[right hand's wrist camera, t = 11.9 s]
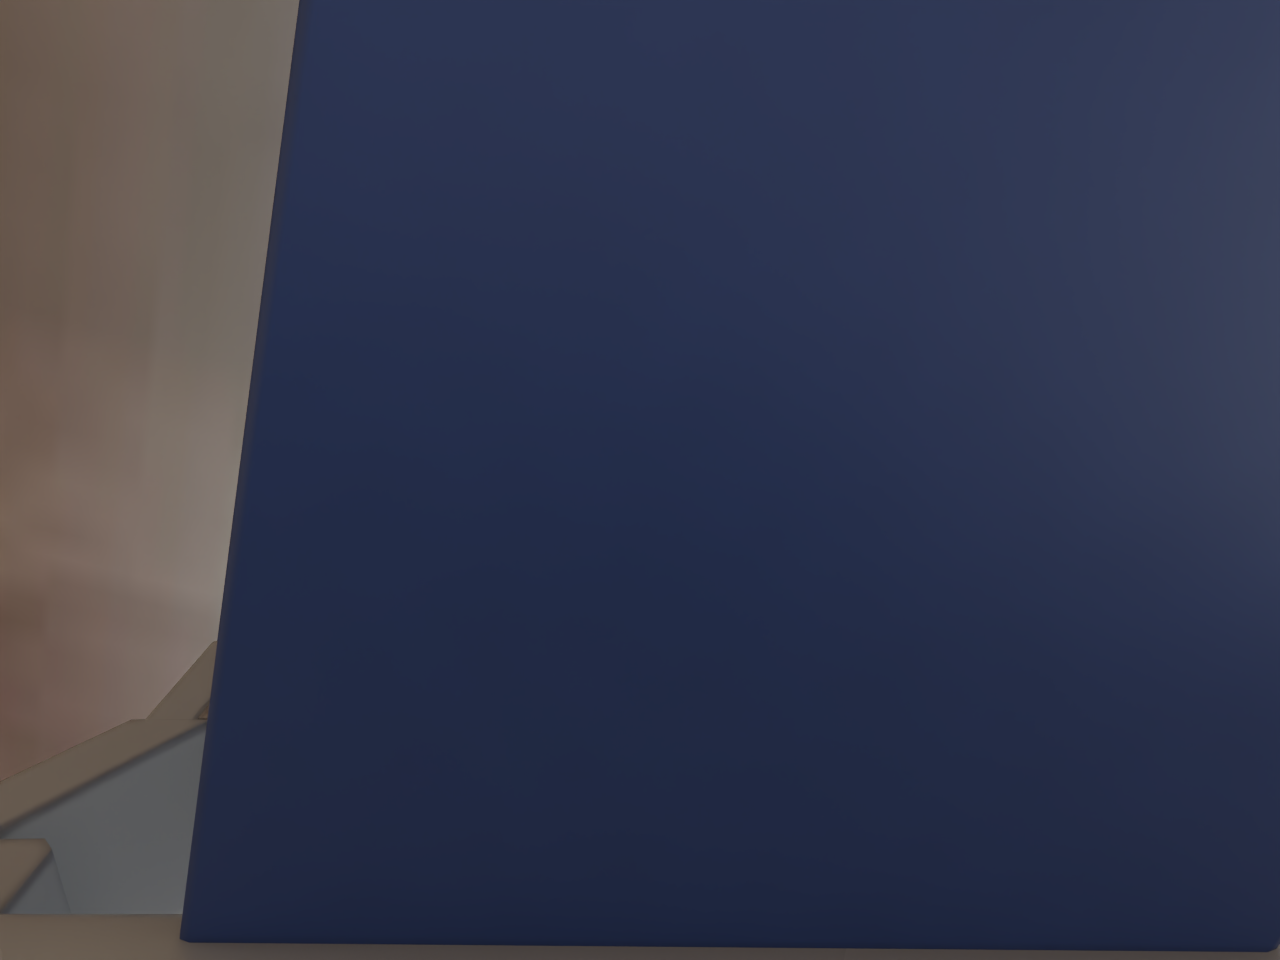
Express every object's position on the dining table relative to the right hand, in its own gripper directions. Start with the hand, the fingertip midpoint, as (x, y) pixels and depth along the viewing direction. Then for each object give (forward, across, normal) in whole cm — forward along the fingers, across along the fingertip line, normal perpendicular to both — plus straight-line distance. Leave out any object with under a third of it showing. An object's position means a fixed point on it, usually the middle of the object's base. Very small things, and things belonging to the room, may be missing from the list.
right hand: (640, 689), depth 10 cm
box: (+5, -3, -10) cm, 11 cm away
